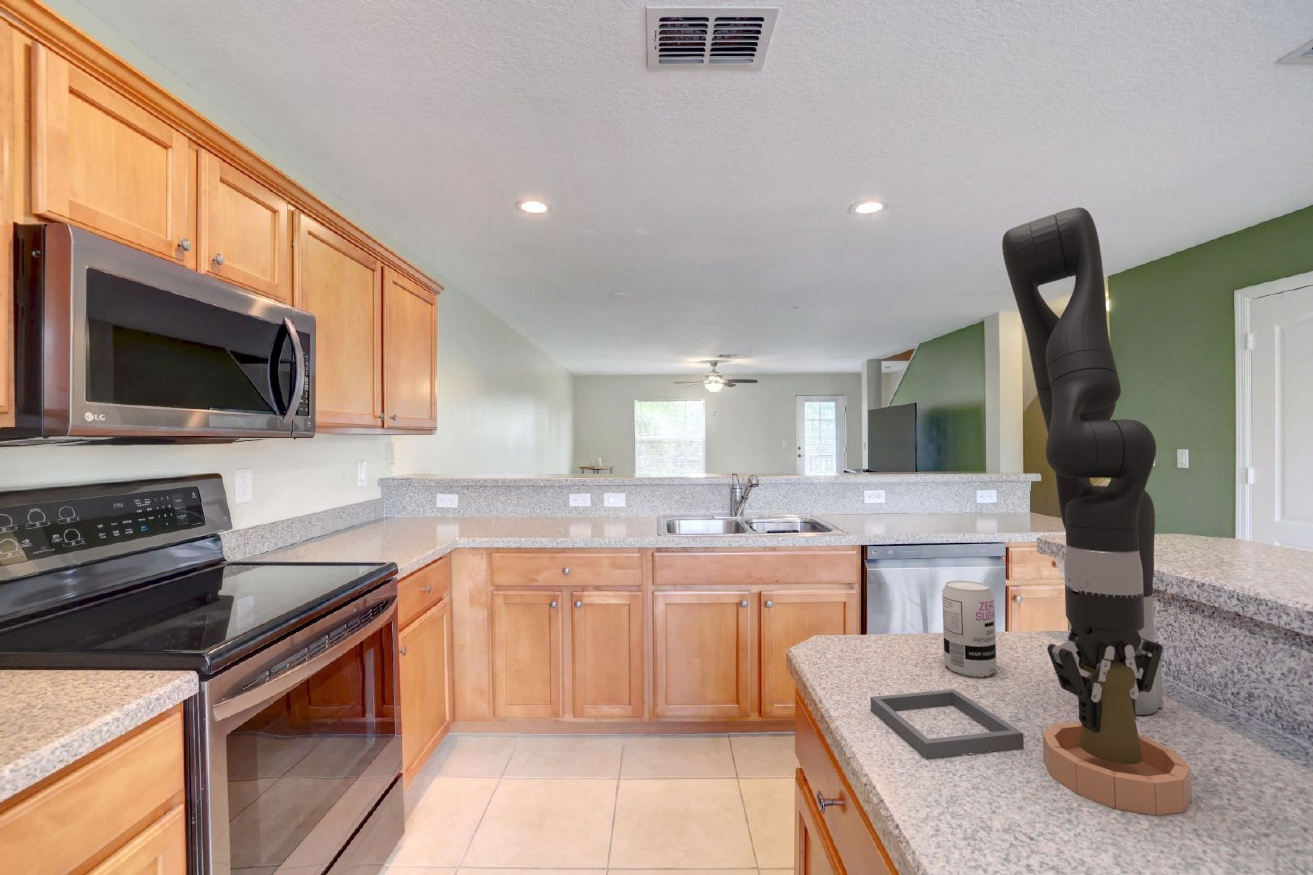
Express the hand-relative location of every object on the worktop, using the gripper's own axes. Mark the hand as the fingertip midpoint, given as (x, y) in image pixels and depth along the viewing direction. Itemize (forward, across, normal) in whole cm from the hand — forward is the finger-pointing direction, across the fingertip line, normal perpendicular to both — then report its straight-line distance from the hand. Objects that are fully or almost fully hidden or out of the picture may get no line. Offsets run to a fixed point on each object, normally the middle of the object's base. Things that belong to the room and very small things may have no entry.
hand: (1107, 727), depth 69 cm
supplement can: (+6, -6, -33) cm, 34 cm away
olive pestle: (+3, 0, 0) cm, 3 cm away
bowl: (+6, 0, 0) cm, 6 cm away
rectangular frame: (+6, +12, -15) cm, 20 cm away
